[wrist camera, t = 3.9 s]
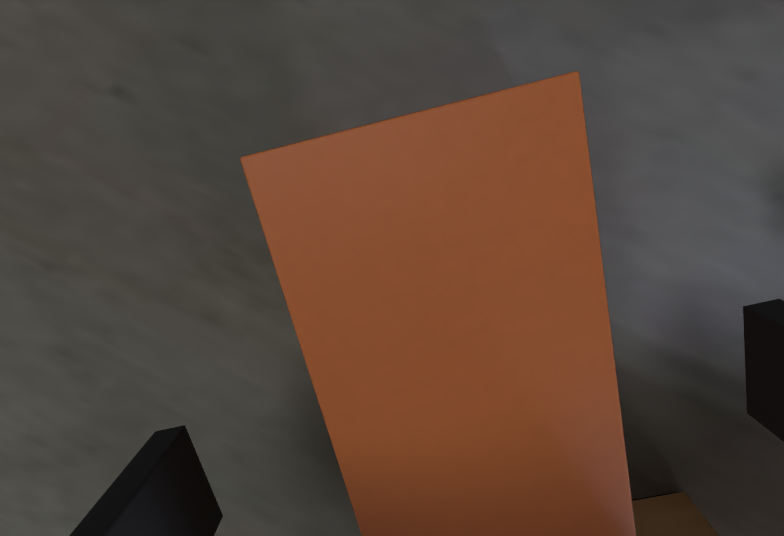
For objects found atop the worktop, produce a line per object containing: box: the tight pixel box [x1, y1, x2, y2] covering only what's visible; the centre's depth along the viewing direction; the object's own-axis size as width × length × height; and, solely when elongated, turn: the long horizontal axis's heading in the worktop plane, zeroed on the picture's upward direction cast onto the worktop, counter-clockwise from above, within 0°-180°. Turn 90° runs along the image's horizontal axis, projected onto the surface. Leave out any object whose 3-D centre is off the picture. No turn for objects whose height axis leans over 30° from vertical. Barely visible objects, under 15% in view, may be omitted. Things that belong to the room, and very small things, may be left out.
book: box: [240, 71, 636, 536], centre depth 15 cm, size 8×14×5 cm, turn 14°
